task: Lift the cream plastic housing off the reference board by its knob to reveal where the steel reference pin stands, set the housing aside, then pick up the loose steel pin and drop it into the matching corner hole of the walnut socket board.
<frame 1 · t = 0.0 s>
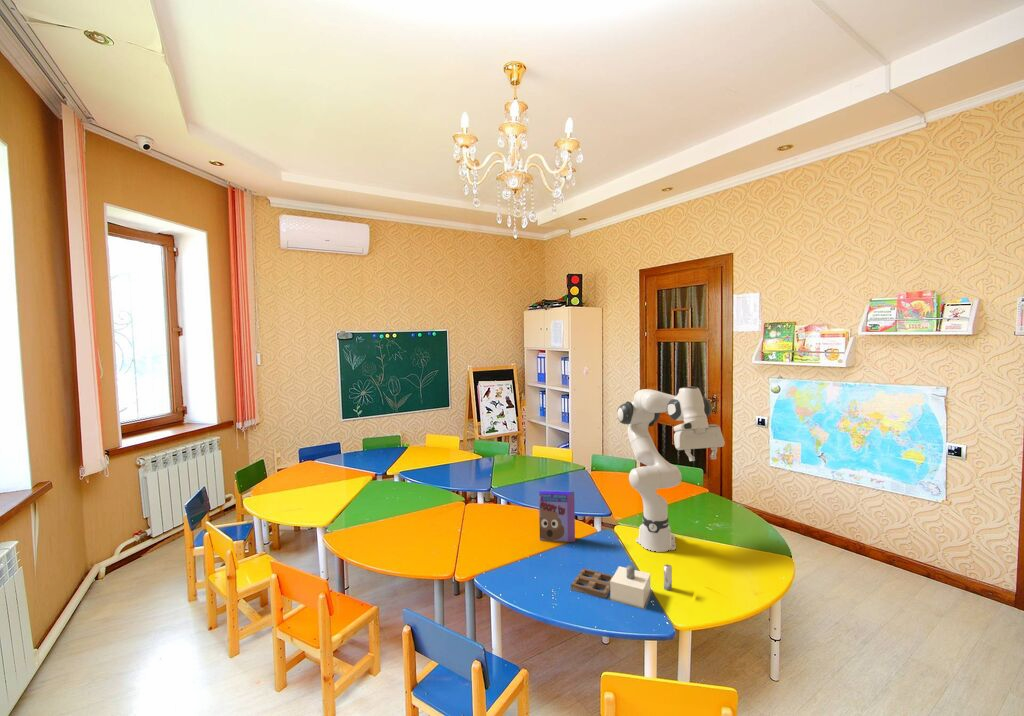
hand: (703, 460, 175), 52 cm above the table, tool tilted 20°, fingers open, 8 cm apart
socket board: (593, 587, 179), on the table
housing: (630, 594, 172), point 1 cm above the table, touching reference board
steel pin: (667, 591, 176), on the table
reference board: (630, 597, 172), on the table
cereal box: (557, 539, 222), on the table
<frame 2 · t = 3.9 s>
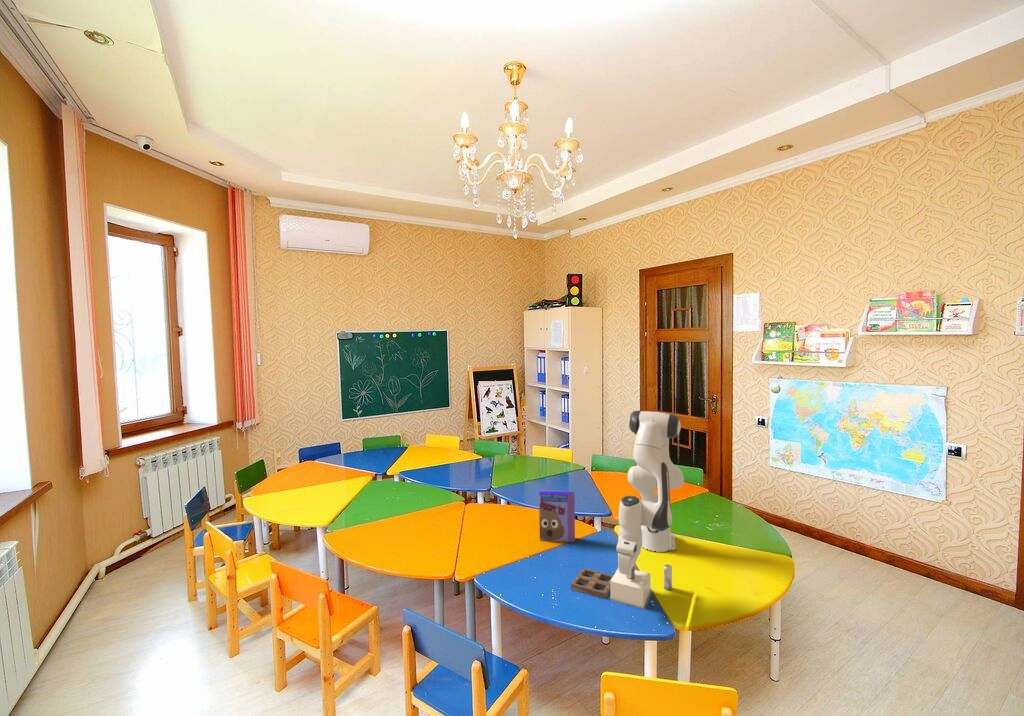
hand: (630, 574, 171), 9 cm above the table, tool pointing down, fingers closed on housing, 3 cm apart
housing: (630, 594, 172), point 1 cm above the table, touching gripper, reference board
everything else where it was.
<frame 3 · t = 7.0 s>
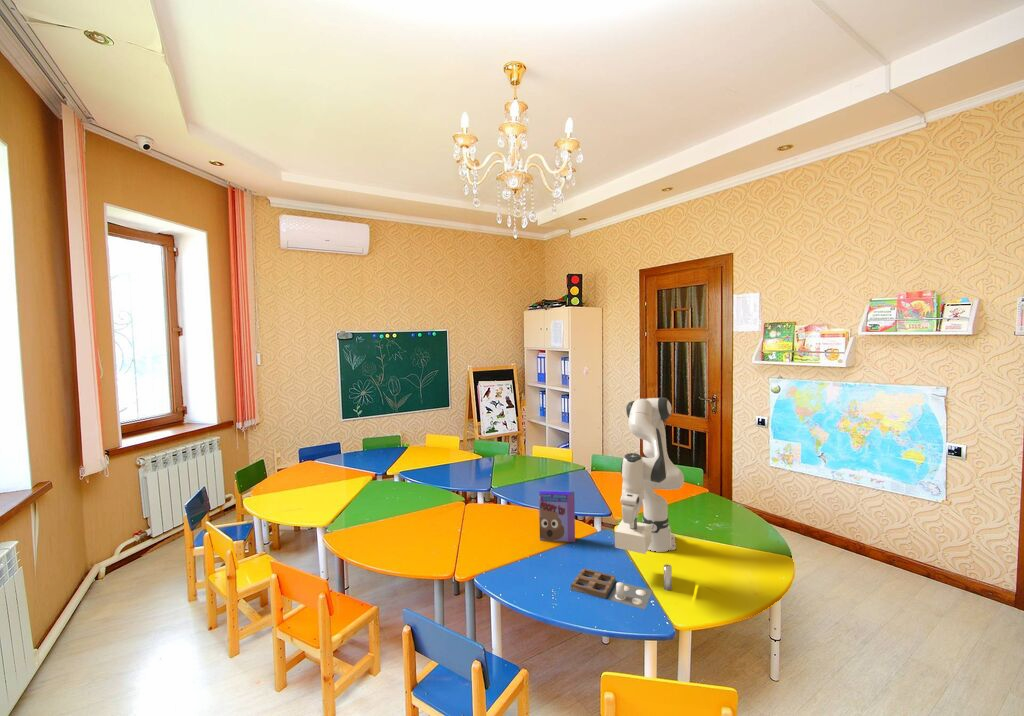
hand: (633, 525, 185), 22 cm above the table, tool pointing down, fingers closed on housing, 3 cm apart
housing: (633, 543, 186), point 14 cm above the table, touching gripper
everything else where it was.
when the fingers open (10 cm above the table, at t = 10.0 s): housing drops 1 cm, on the table.
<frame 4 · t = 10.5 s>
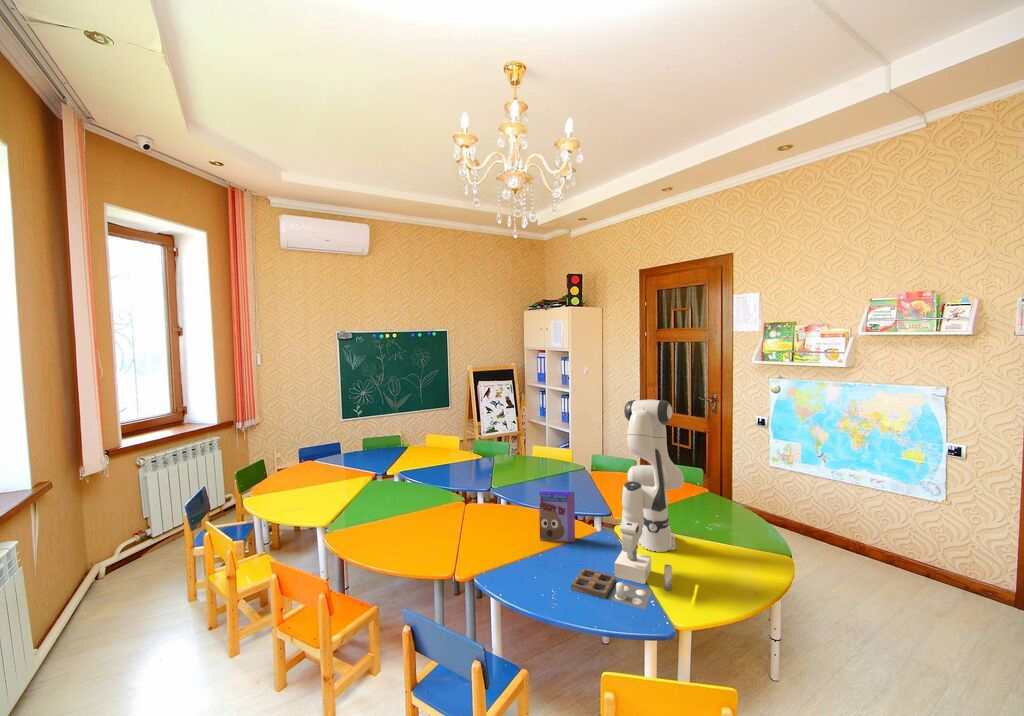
hand: (632, 553, 187), 10 cm above the table, tool pointing down, fingers open, 8 cm apart
housing: (633, 575, 187), on the table
everything else where it was.
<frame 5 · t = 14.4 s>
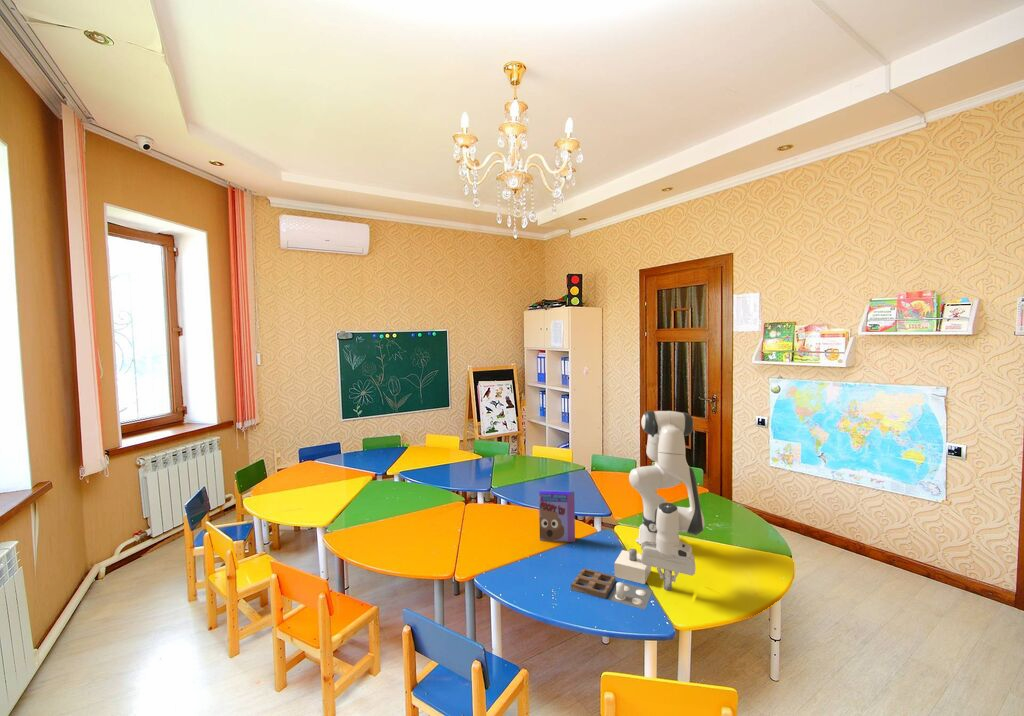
hand: (667, 579, 175), 5 cm above the table, tool pointing down, fingers closed on steel pin, 3 cm apart
steel pin: (667, 591, 176), on the table, touching gripper
everything else where it was.
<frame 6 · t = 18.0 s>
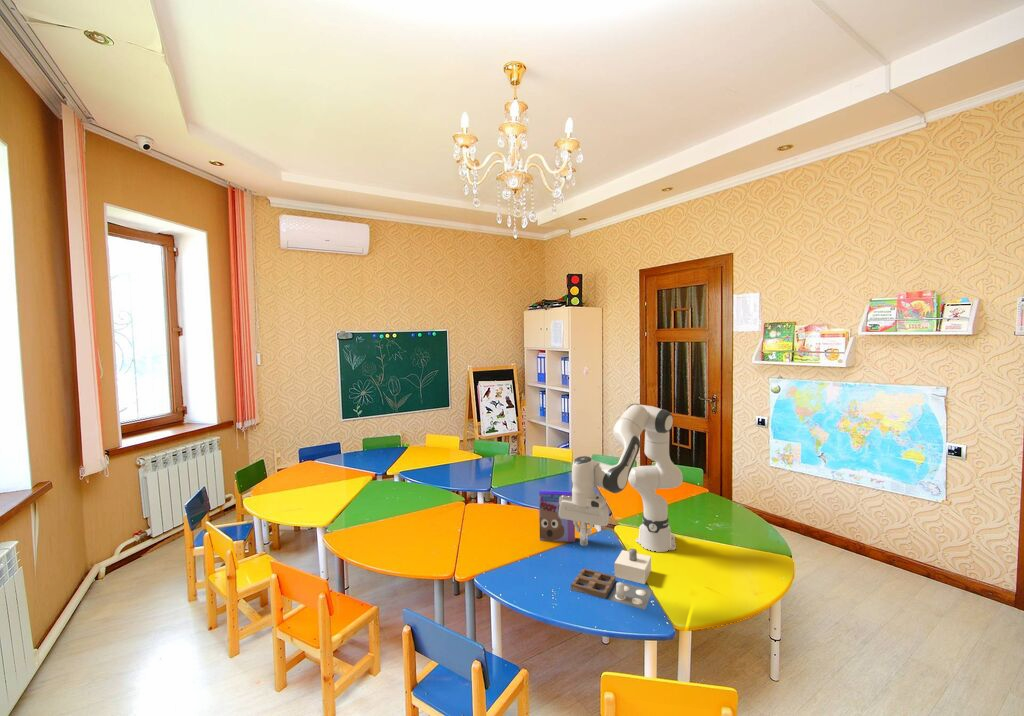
hand: (583, 532, 176), 24 cm above the table, tool pointing down, fingers closed on steel pin, 3 cm apart
steel pin: (583, 544, 176), point 19 cm above the table, touching gripper
everything else where it was.
when the fingers open (6 cm above the table, at t = 21.7 s): steel pin drops 1 cm, resting in socket board.
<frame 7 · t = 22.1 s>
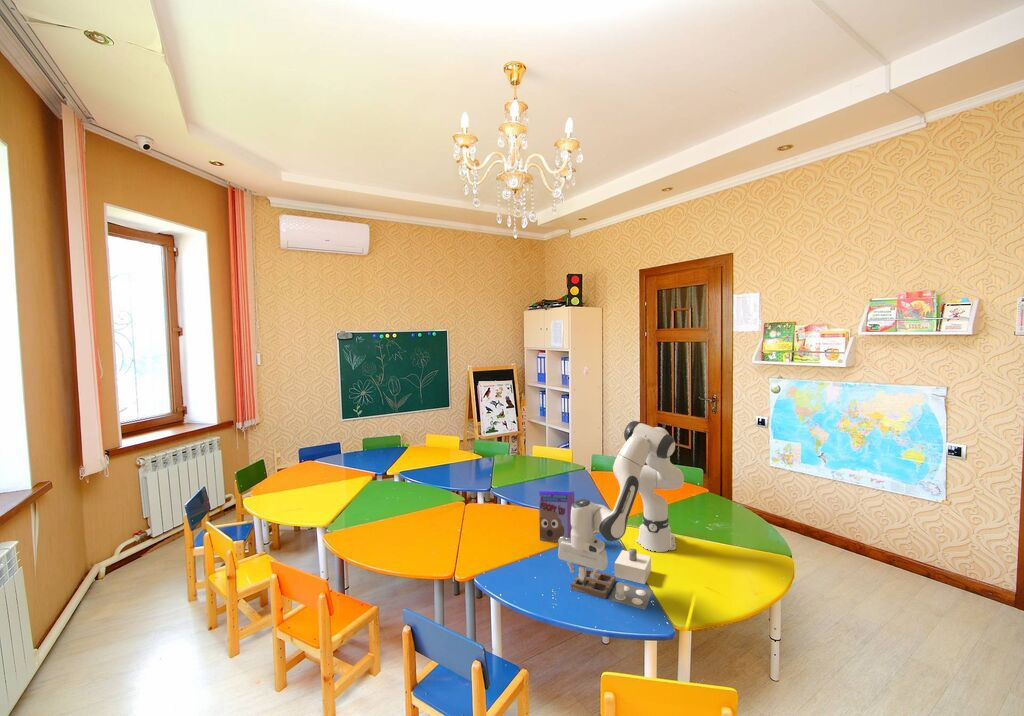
hand: (582, 574, 177), 6 cm above the table, tool pointing down, fingers open, 7 cm apart
steel pin: (582, 589, 178), resting in socket board
everything else where it was.
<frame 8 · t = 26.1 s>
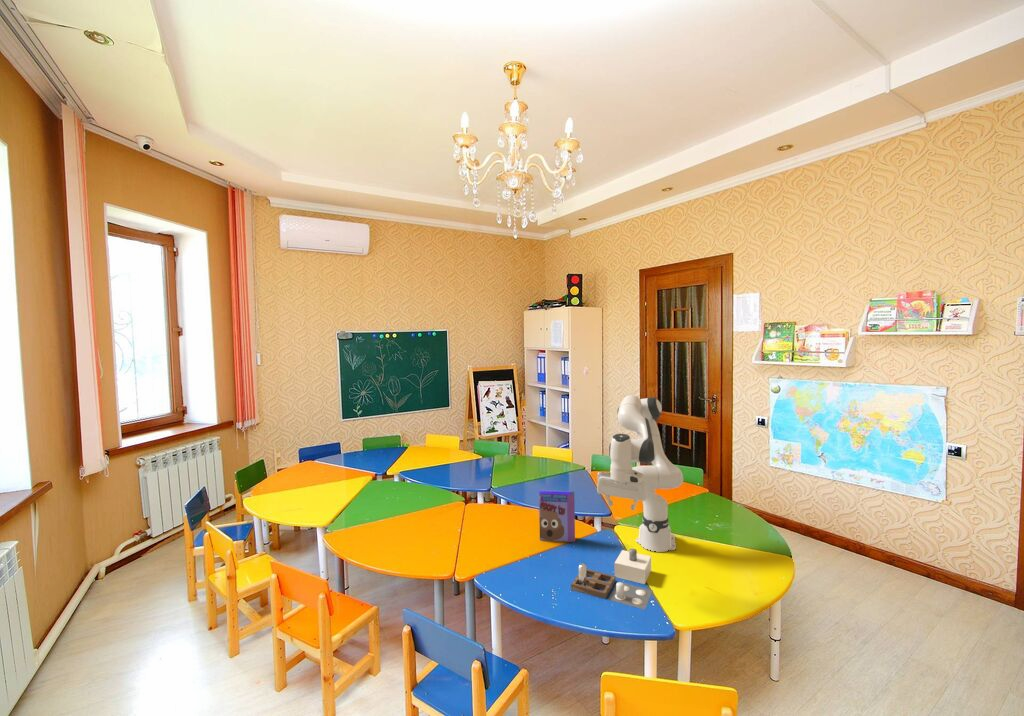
hand: (621, 507, 182), 31 cm above the table, tool pointing down, fingers open, 8 cm apart
nothing on the table moved.
at the end: steel pin 0.1 cm from the target spot on the socket board, point 0.0 cm above the socket board's base; steel pin tilted 1°; housing moved 16.4 cm from its start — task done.
